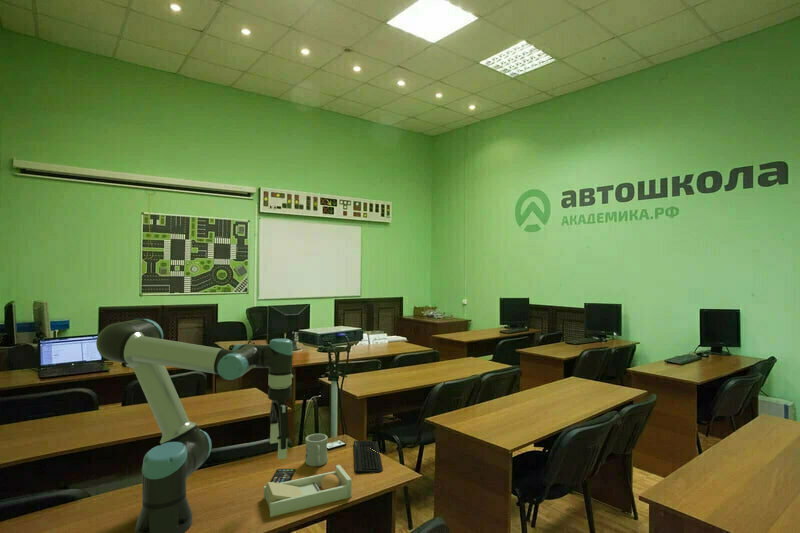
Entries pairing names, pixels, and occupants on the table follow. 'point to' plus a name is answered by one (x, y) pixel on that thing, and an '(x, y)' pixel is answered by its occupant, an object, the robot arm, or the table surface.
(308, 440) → the mug
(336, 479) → the ball
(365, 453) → the keyboard
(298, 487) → the lane
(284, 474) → the smartphone
